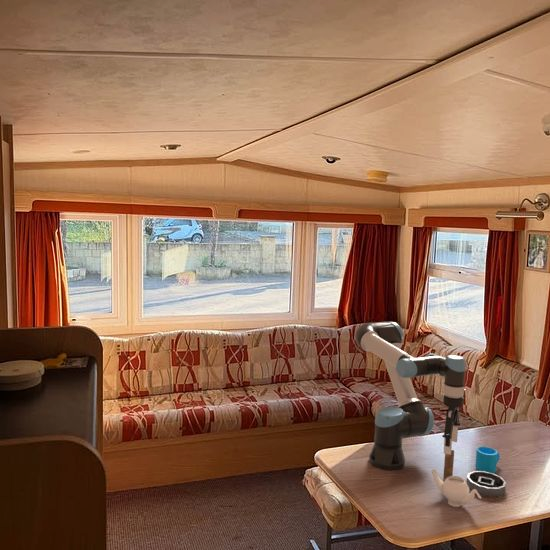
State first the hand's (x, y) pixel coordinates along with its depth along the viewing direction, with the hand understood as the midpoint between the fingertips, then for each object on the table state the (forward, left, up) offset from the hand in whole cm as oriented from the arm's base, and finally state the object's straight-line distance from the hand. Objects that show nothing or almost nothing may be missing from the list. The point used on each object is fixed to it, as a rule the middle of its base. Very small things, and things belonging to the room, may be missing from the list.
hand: (450, 447), depth 213 cm
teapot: (+5, -15, -15) cm, 22 cm away
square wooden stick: (0, 0, -15) cm, 15 cm away
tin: (+14, +3, -15) cm, 20 cm away
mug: (+13, +22, -15) cm, 30 cm away
